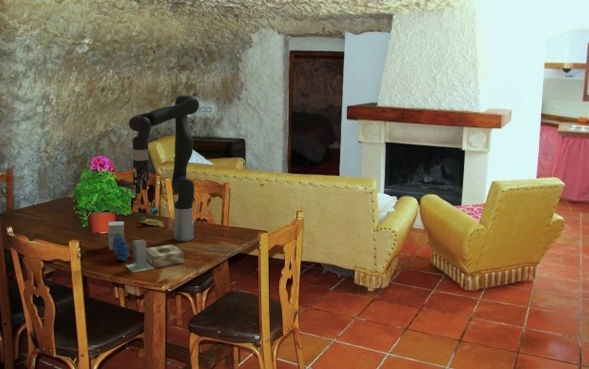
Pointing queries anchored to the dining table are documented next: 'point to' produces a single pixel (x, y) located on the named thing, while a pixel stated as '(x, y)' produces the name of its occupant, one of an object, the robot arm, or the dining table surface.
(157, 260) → the holder
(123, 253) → the grapes
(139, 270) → the mat
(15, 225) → the dining table surface
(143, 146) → the robot arm
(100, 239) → the dining table surface
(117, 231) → the supplement box
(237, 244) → the dining table surface
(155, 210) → the frog figurine
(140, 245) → the peg
